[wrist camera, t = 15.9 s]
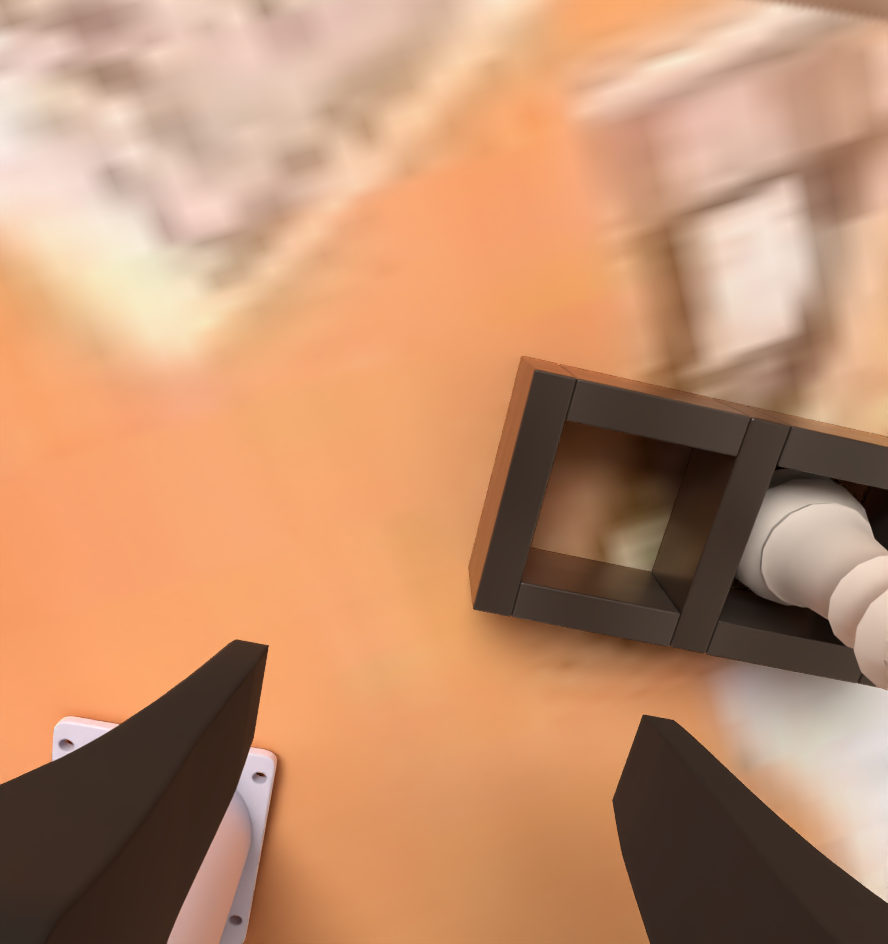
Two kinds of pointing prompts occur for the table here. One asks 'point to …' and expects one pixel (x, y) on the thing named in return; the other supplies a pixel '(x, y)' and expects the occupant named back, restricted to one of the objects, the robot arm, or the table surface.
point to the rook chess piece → (822, 562)
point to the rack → (689, 529)
